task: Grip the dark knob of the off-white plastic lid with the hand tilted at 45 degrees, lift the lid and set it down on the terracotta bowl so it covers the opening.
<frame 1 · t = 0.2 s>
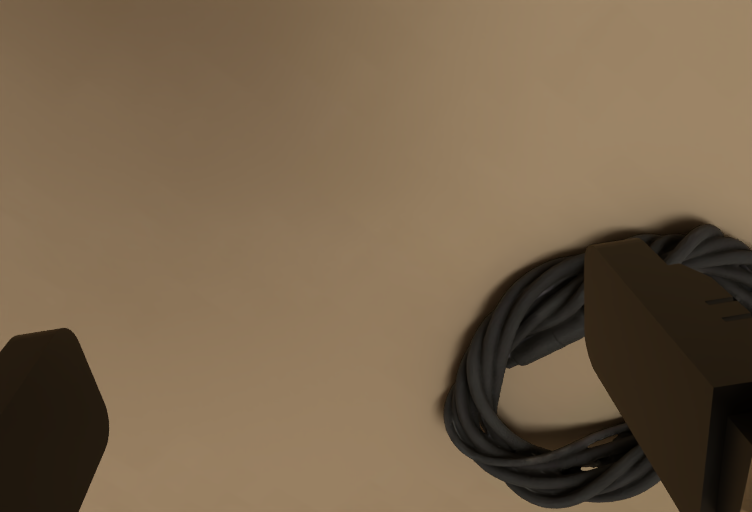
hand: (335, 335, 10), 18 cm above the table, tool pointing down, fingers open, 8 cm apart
cable: (596, 345, 34), on the table
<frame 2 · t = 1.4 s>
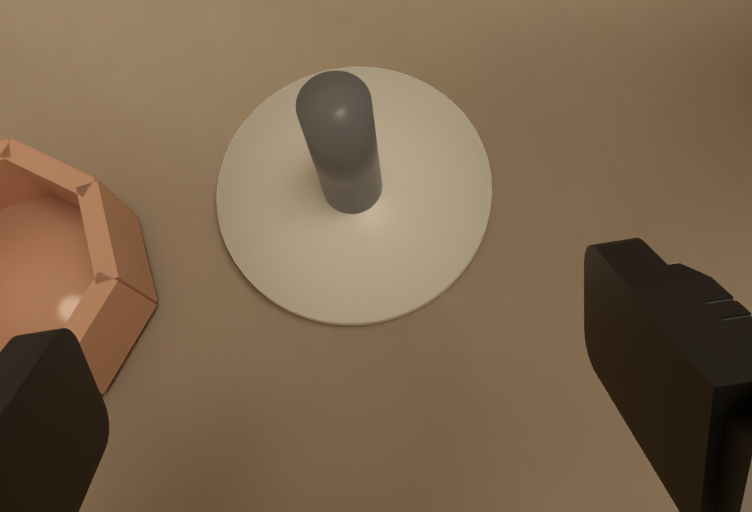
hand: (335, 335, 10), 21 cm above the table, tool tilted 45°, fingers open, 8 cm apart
lid: (354, 195, 35), on the table
bowl: (37, 299, 34), on the table
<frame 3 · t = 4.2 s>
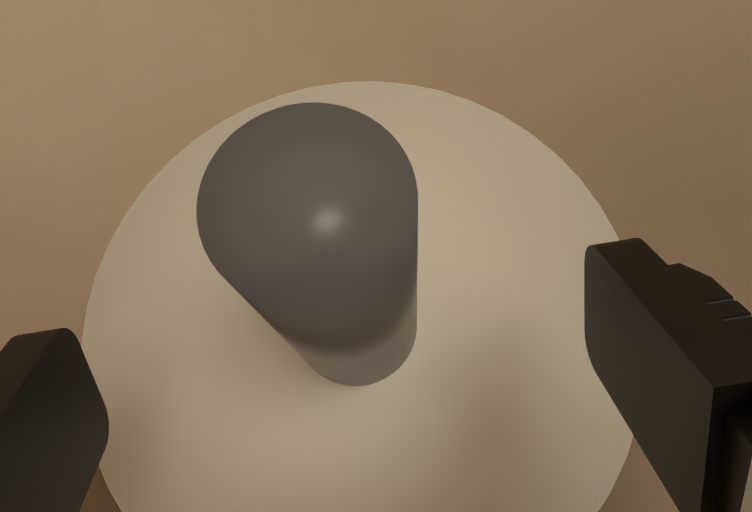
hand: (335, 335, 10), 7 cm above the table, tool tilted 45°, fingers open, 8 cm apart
lid: (360, 334, 18), on the table
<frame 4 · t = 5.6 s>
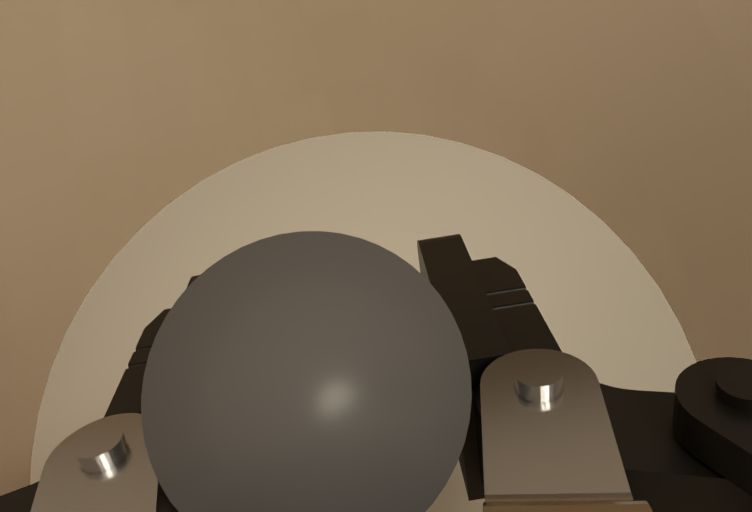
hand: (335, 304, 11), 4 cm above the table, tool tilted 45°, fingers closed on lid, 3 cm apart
lid: (369, 438, 15), on the table, touching gripper
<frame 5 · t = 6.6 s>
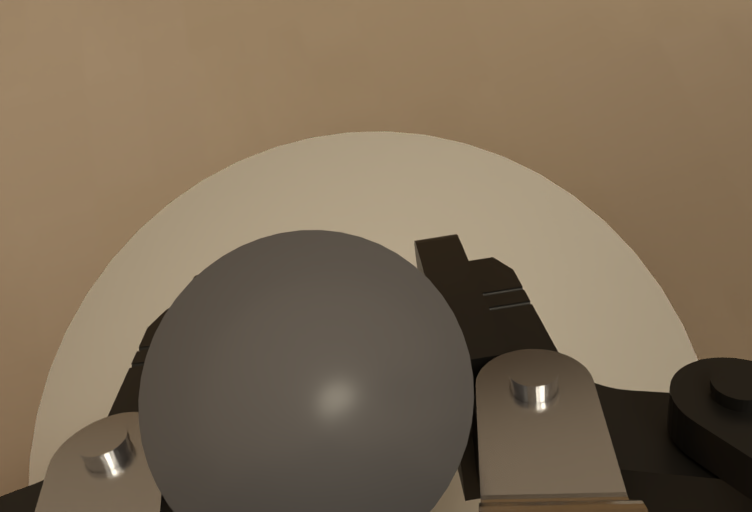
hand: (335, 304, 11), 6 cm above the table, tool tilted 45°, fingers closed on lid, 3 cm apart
lid: (370, 440, 15), point 2 cm above the table, touching gripper
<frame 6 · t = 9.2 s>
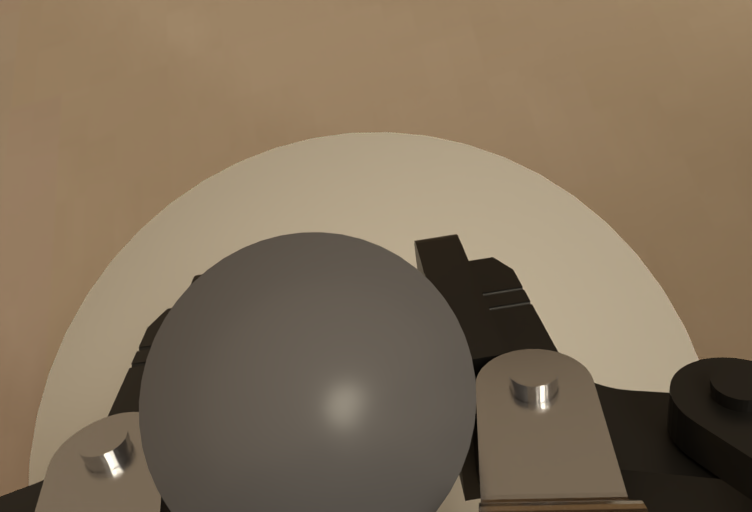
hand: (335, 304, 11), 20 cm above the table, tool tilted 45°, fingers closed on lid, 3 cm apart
lid: (370, 441, 15), point 16 cm above the table, touching gripper
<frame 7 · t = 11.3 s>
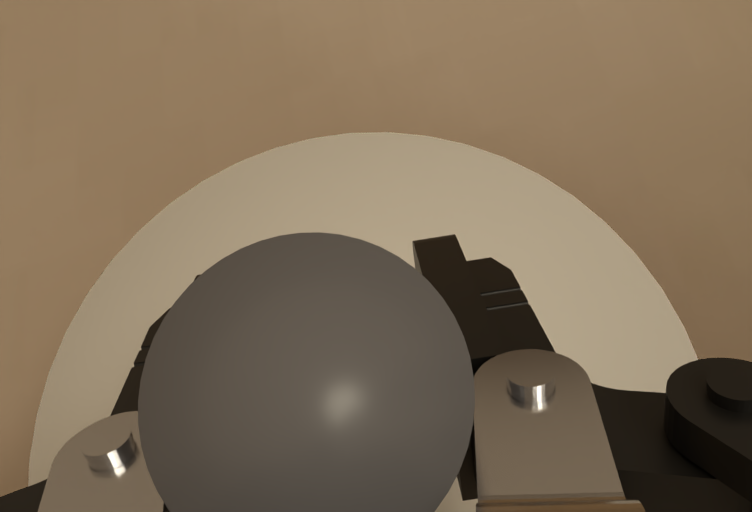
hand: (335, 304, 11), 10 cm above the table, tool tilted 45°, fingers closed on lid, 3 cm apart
lid: (370, 441, 15), point 6 cm above the table, touching gripper
when the fingers open (10 cm above the table, at t = 11.4 s): lid drops 1 cm, resting on bowl.
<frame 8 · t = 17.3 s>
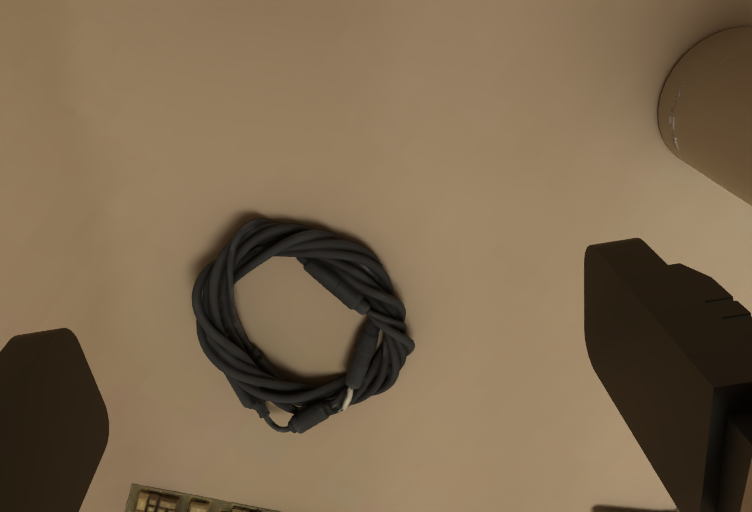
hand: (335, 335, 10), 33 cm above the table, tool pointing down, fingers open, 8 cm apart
cable: (307, 308, 49), on the table
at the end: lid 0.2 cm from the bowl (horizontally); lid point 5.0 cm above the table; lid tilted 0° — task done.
